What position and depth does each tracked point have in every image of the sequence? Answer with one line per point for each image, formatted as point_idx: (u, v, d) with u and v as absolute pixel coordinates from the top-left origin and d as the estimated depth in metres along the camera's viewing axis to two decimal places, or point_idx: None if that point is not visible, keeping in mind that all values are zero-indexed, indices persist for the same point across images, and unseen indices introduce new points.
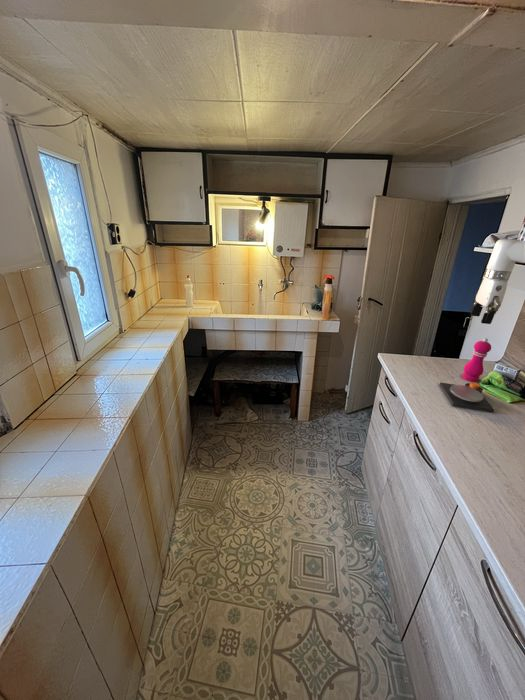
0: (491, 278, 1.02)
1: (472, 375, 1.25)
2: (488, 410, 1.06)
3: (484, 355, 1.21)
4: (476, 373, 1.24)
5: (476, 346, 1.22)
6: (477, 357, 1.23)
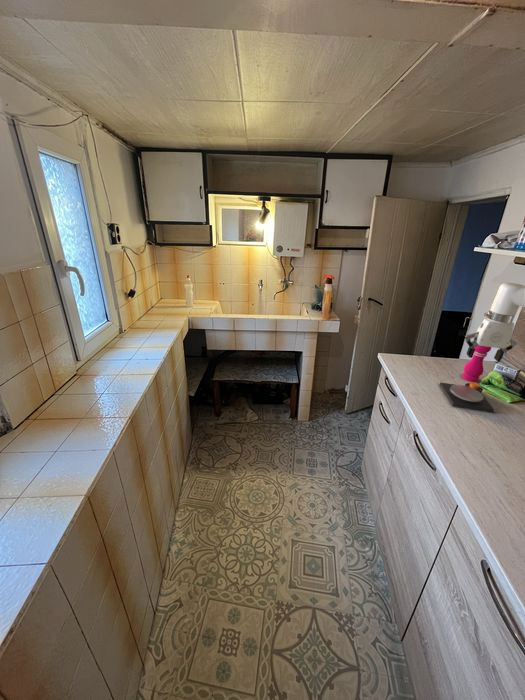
0: None
1: (472, 375, 1.25)
2: (488, 410, 1.06)
3: (484, 355, 1.21)
4: (476, 373, 1.24)
5: None
6: (477, 357, 1.23)
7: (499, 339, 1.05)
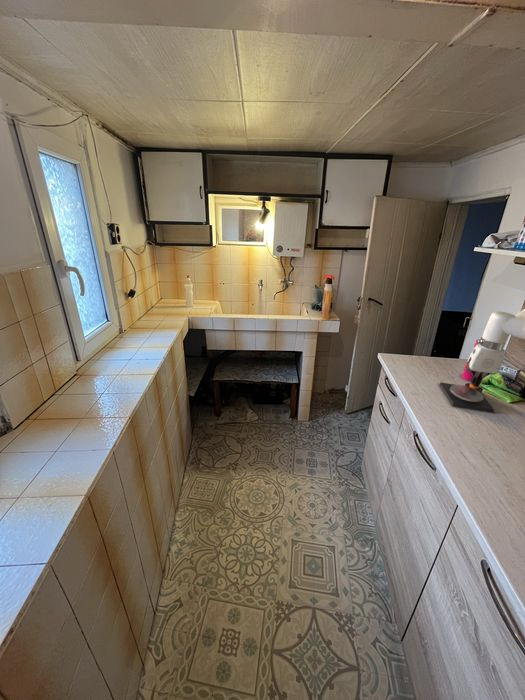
0: None
1: (472, 375, 1.25)
2: (488, 410, 1.06)
3: None
4: None
5: None
6: None
7: (491, 365, 1.09)
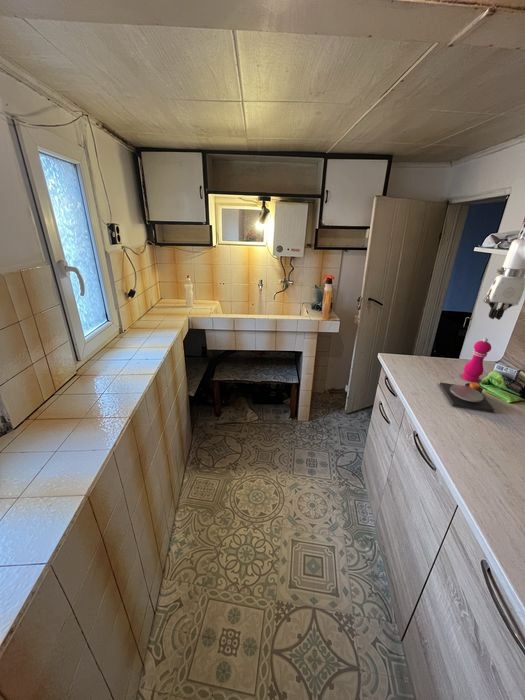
0: None
1: (472, 375, 1.25)
2: (488, 410, 1.06)
3: (484, 355, 1.21)
4: (476, 373, 1.24)
5: (476, 346, 1.22)
6: (477, 357, 1.23)
7: (511, 294, 1.10)
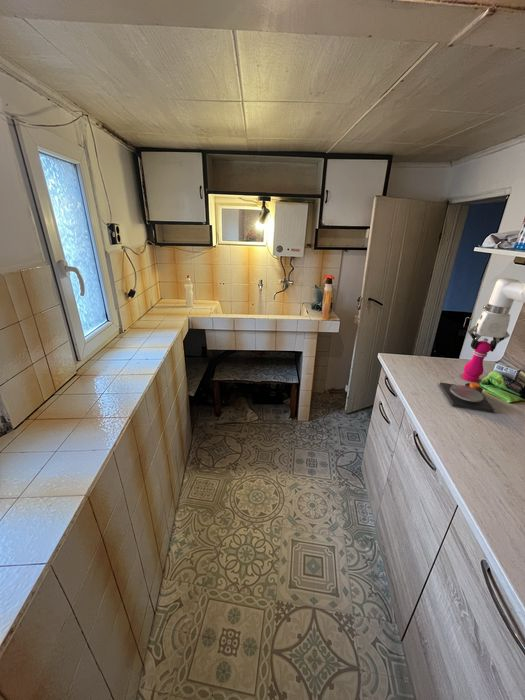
0: None
1: (472, 375, 1.25)
2: (488, 410, 1.06)
3: (484, 355, 1.21)
4: (476, 373, 1.24)
5: None
6: (477, 357, 1.23)
7: (497, 329, 1.16)
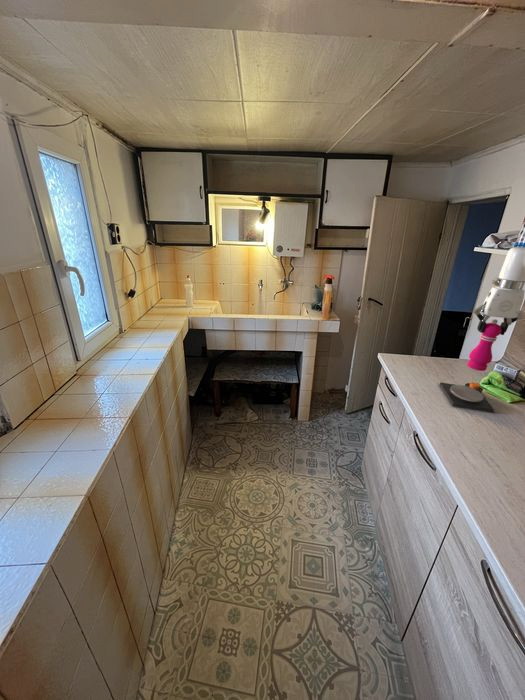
0: None
1: (479, 363, 1.08)
2: (488, 410, 1.06)
3: (493, 339, 1.04)
4: (484, 360, 1.07)
5: (484, 329, 1.05)
6: (485, 342, 1.06)
7: (508, 308, 0.99)
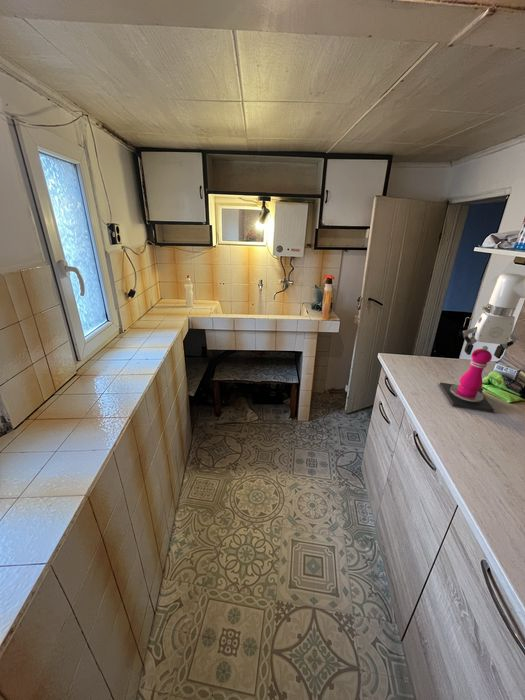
0: None
1: (469, 389, 1.07)
2: (488, 410, 1.06)
3: (483, 366, 1.03)
4: (474, 387, 1.06)
5: (474, 355, 1.04)
6: (475, 368, 1.05)
7: (499, 334, 0.97)
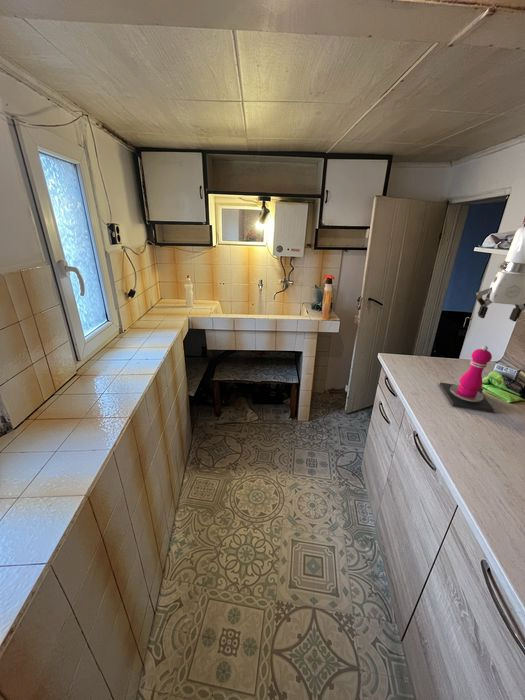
0: None
1: (469, 389, 1.07)
2: (488, 410, 1.06)
3: (483, 366, 1.03)
4: (474, 387, 1.06)
5: (474, 355, 1.04)
6: (475, 368, 1.05)
7: (516, 294, 0.91)
